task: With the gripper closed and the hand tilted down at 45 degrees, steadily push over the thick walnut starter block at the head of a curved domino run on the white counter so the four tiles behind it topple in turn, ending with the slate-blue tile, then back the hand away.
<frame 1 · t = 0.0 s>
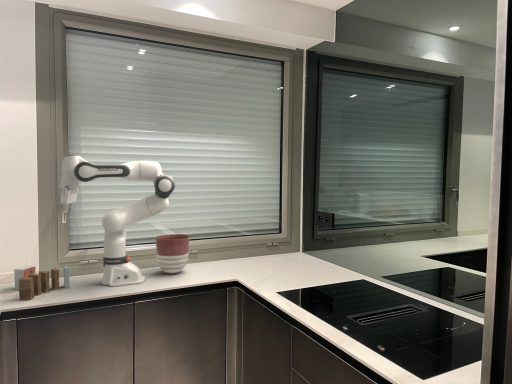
hand: (67, 211, 195), 39 cm above the worktop, tool pointing down, fingers open, 8 cm apart
domino 1: (26, 299, 174), on the worktop
domino 5: (66, 286, 193), on the worktop
domino 3: (44, 291, 185), on the worktop
small box: (25, 288, 191), on the worktop
domino 2: (35, 294, 180), on the worktop
planter: (172, 272, 222), on the worktop
domino 4: (55, 288, 190), on the worktop
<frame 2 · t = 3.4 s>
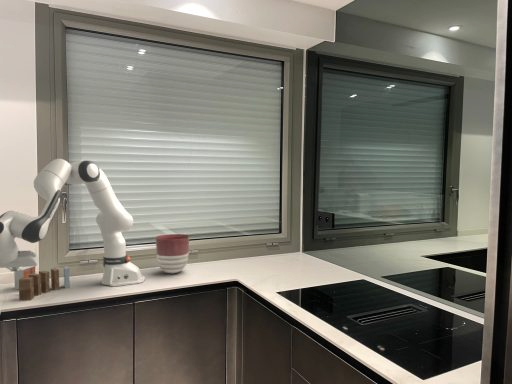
hand: (15, 269, 161), 17 cm above the worktop, tool tilted 45°, fingers closed
nothing on the worktop moved.
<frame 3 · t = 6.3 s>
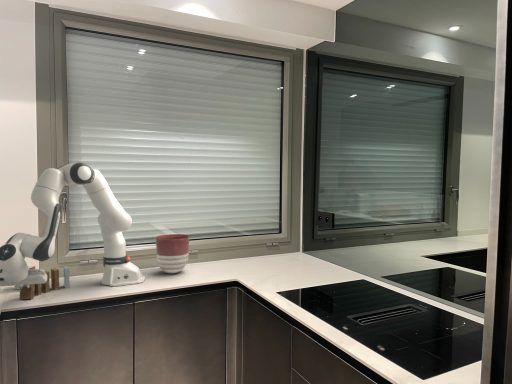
hand: (25, 286, 172), 6 cm above the worktop, tool tilted 45°, fingers closed
domino 1: (26, 298, 174), on the worktop, tilted 10°
everything else where it was.
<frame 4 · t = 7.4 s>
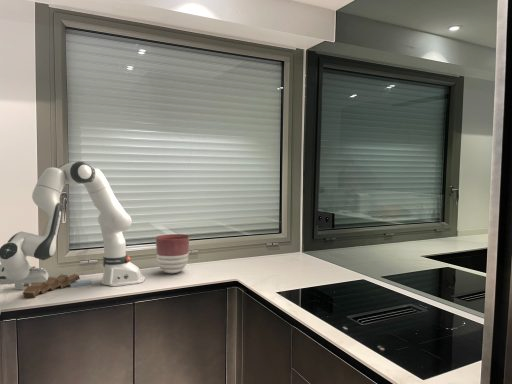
hand: (27, 285, 175), 6 cm above the worktop, tool tilted 45°, fingers closed
domino 1: (28, 295, 175), point 1 cm above the worktop, tilted 69°, touching domino 2
domino 5: (69, 285, 194), on the worktop, tilted 90°
domino 3: (48, 288, 187), point 1 cm above the worktop, tilted 66°, touching domino 2, domino 4
domino 2: (38, 291, 182), point 1 cm above the worktop, tilted 67°, touching domino 1, domino 3
domino 4: (58, 286, 191), point 1 cm above the worktop, tilted 72°, touching domino 3
everything else where it was.
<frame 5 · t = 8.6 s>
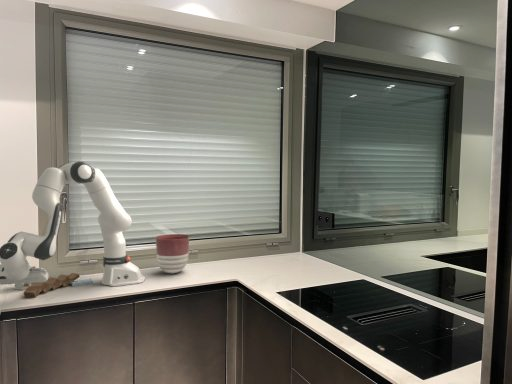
hand: (27, 285, 175), 6 cm above the worktop, tool tilted 45°, fingers closed
domino 5: (71, 284, 196), on the worktop, tilted 90°, touching domino 4
domino 4: (60, 285, 193), point 1 cm above the worktop, tilted 72°, touching domino 3, domino 5
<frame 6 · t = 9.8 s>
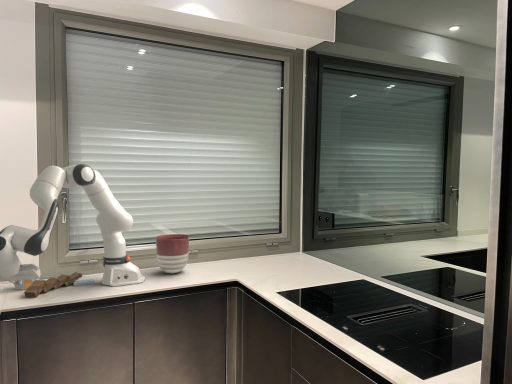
hand: (18, 283, 163), 11 cm above the worktop, tool tilted 45°, fingers closed
domino 4: (62, 284, 194), point 1 cm above the worktop, tilted 72°, touching domino 3, domino 5
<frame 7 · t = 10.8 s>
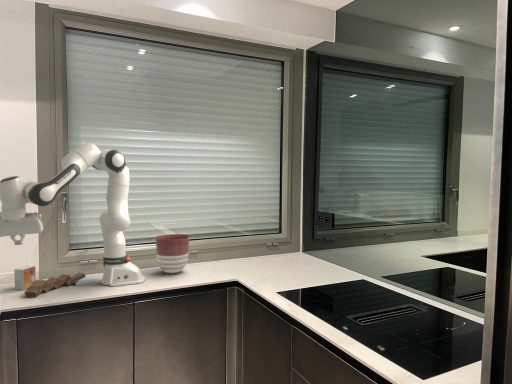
hand: (18, 244, 164), 27 cm above the worktop, tool pointing down, fingers closed
domino 5: (75, 284, 196), on the worktop, tilted 90°
domino 4: (65, 283, 195), point 1 cm above the worktop, tilted 74°, touching domino 3
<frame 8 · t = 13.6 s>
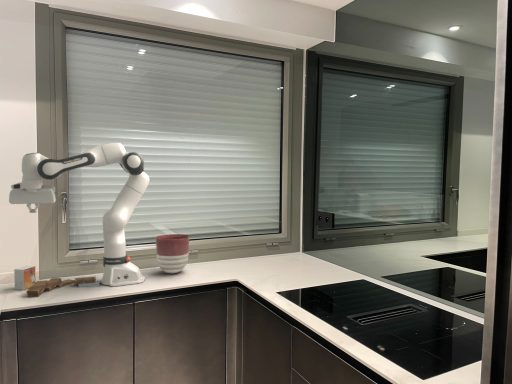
hand: (33, 212, 187), 39 cm above the worktop, tool pointing down, fingers closed
domino 1: (32, 293, 177), point 2 cm above the worktop, tilted 77°, touching domino 2
domino 5: (79, 285, 195), on the worktop, tilted 90°, touching domino 4
domino 3: (56, 286, 192), on the worktop, tilted 90°, touching domino 2
domino 2: (44, 289, 186), point 1 cm above the worktop, tilted 77°, touching domino 1, domino 3
domino 4: (74, 281, 195), point 2 cm above the worktop, tilted 90°, touching domino 5
everything else where it was.
at the end: domino 5 tilted 90°; domino 1 tilted 77° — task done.
